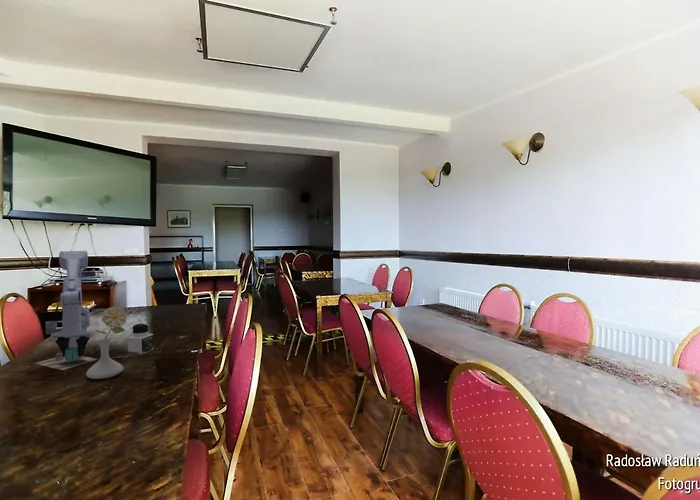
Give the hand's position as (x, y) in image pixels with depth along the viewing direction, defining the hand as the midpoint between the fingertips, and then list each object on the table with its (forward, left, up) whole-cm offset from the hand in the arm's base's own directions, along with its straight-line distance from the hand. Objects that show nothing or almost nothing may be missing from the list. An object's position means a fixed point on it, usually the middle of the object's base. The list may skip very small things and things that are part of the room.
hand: (73, 355), depth 147 cm
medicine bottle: (+9, +22, -4) cm, 24 cm away
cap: (0, 0, -1) cm, 1 cm away
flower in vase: (+23, -2, -4) cm, 23 cm away
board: (-4, 0, -4) cm, 6 cm away
